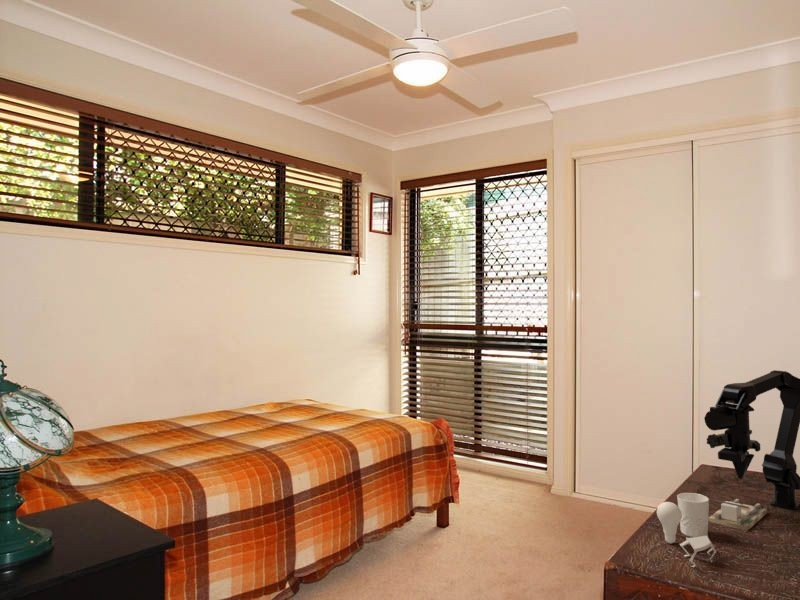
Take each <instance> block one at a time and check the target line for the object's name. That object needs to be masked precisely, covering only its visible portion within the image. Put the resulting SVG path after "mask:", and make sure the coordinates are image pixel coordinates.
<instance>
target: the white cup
mask: <svg viewBox="0 0 800 600" xmlns="http://www.w3.org/2000/svg"><path fill="white" fill-rule="evenodd" d="M676 497H677V498H676V499H677V500H676V501H677V506H678V507H679V509H680V510H681V513H682V518H681V521H680V523H679V526H680V528H679V529H680V532H681V533H682V534H683V535H685V536H687V537H689V538H693V537H701V536H709V535H708V534H709V517H710V515H709V509H710V508H709V506H710V505H709V504H710V503H709V501H710V499H709V498H708V496H706V495H703V494H701V493H694V492H683V493H679V494H677V495H676Z"/></svg>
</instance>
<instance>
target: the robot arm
mask: <svg viewBox="0 0 800 600" xmlns="http://www.w3.org/2000/svg"><path fill="white" fill-rule="evenodd" d="M774 389H777V390H778V391H779V392H780V393H779V398H780V400H781V403H782V405H783V407H782V412H781V416H780V421H779V425H778V430H777V435H776V438H775V439H776V440H775V445H774V448H773V450H772V452H770V453H765V455H764V456H763V462H762V464H761V466H762V473H763V477H764V478H765V481H766V483H769V484H773V500H772V501H771V502H770V505H771V506H776V507H780V508H785V509H790V510H796V509H797V508H798V507H799V506H800V502H798V501H797V491H796V490H798V491H799V490H800V475H799V473H797V469H798V465H797V462H796V460H795V458H794V452H795V446H796V441H797V437H798V433H799V428H800V378H799V377H797V376H796V375H795V376H794V375H793V374H791V372H789V371H786V370H785V371H783V370H776V369H775V370H774V369H773V370H771V371H770V372H768V373H766V374H764V375H761V376H758V377H756V378H754V379H751V380H749V381H745V382H736V383H735V382H734V383H729V384H728V383H727V384H726V385H724V387H723V389H722V391H721V393H720V395H719V397H718V399H717V401H716V403H715V406H709V411H707V412H706V413H705V416H704V423H705V425H706V427H707V428H708V429H709V430H711V431H721V430H724V432H723V433H718V434H715V433H712V434H709V435H707V437H706V444H707V445H709V447H710V449H714V448H715V449H716V448H717V447H723V446H724V447H723V448H721V449H720V450H719V451H718V452H717V459H718V460H722V461H727V462H732V464H733V465H732V466H733V467H734V470H735V473H736V475H737V479H740V480H742V479H744V478H745V475H746V473H747V471H748V469H749V467H750V464H751V463H752V460H753V459H754V457H755V454H753V453H750V452H749V450H750V449H751V450H754V451H755V452H757V453H759V452H760V451H761V443H760V442H759V441H758V440H755V439H751V435H752V434H753V430H752V429H750V427H751V426H750V412H754V411H755V409H754V408H753V407H752V406H751V404H752V403H753V402H755V401H756V400H757V397H758V396H760V395H761V394H764V393H767V392H769V391H772V390H774Z"/></svg>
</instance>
